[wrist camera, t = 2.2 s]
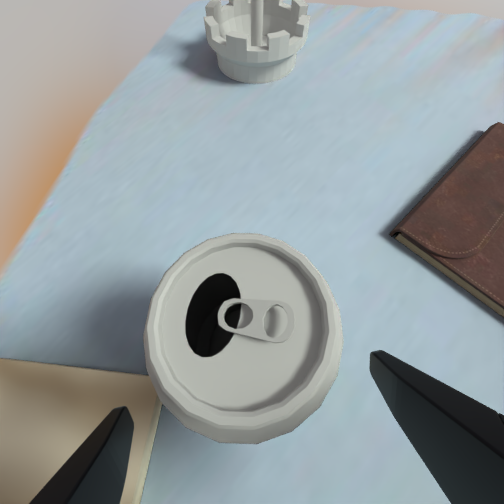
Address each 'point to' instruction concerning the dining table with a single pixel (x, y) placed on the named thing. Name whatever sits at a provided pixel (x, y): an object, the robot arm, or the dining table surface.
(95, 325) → the dining table surface
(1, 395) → the board
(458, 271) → the notebook
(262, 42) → the flag stand
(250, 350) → the can
